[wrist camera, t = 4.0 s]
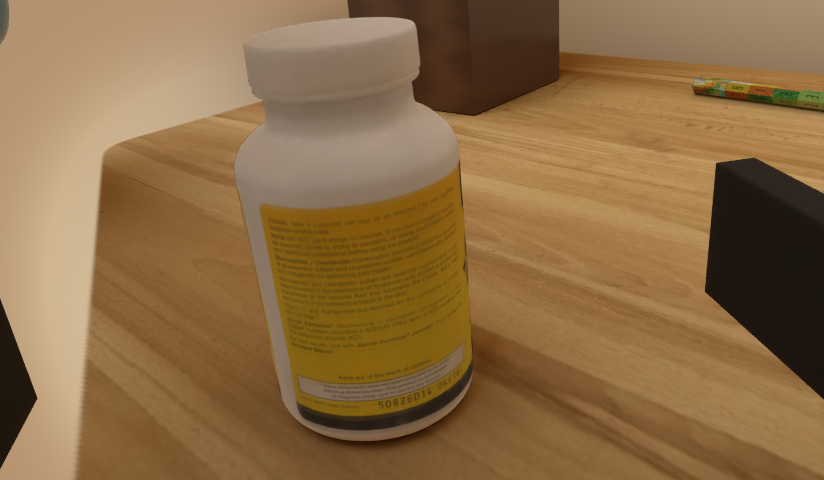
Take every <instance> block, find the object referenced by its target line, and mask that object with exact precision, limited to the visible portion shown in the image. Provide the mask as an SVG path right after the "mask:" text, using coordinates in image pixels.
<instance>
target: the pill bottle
mask: <svg viewBox="0 0 824 480" xmlns="http://www.w3.org/2000/svg"><path fill="white" fill-rule="evenodd" d="M243 47H244V54H245V59H246V67H247V75H248V82H249V85H250V86H251V87H252V93H253V94H254V95H255V96H256V97H258V98H260V99H263V102H264V108H265V115H266V118H265V122H263V123H262V124H261V125H259V126H258V127H257V128H256V129H255V130H254V131H253V132H252V133H251V134H250V135H249V136H248V137H247V138H246V140H245V141H244V142H243V144H242V145H241V147H240V149H239V151H238V153H237V156H236V160H235V171H234V172H235V180H236V186H237V191H238V196H239V201H240V206H241V211H242V215H243V220H244V224H245V229H246V233H247V238H248V243H249V247H250V252H251V256H252V261H253V265H254V270H255V275H256V279H257V284H258V288H259V293H260V298H261V303H262V307H263V312H264V317H265V322H266V326H267V331H268V336H269V342H270V347H271V352H272V357H273V362H274V366H275V371H276V376H277V382H278V386H279V390H280V395H281V397H282V400H283V402H284V404H285V406H286V407H287V409H288V411H289V412H290V413H291V415H292V416H293V417H294V418H295V419H296V420H298V421H299V422H300V423H301V424H303V425H304V426H306V427H307V428H309V429H311V430H313V431H315V432H318V433H320V434H323V435H325V436H329V437H333V438H337V439H342V440H351V441H377V440H385V439H391V438H396V437H401V436H404V435H408V434H411V433H413V432H416V431H419V430H421V429H423V428H426V427H428V426H430V425H432V424H433V423H435V422H437V421H438V420H440V419H441V418H443V417H444V416H445V415H447V414H448V413H449V412H450V411H452V410H453V409H454V408H455V407H456V406H457V404H458V403H459V402H460V401H461V400H462V398H463V397H464V395H465V394H466V392H467V390H468V388H469V385H470V383H471V380H472V374H473V343H472V329H471V315H470V299H469V285H468V268H467V254H466V241H465V225H464V211H463V199H462V187H461V173H460V156H459V149H458V143H457V139H456V136H455V134H454V132H453V130H452V128H451V127H450V125H449V124H448V123H447V122H446V121H445V120H444V119H443V118H442V117H441V116H440V115H439V114H437V113H436V112H435V111H433V110H432V109H430V108H429V107H427V106H425V105H423V104H421V103H418V102H416V101H415V100H414V96H413V88H412V82H411V81H413V80H414V79H415V78H416V77H417V76H418V75H419V69H418V68H419V67H420V55H419V47H418V38H417V29H416V25H415V23H414V22H413V21H411V20H408V19H403V18H393V17H362V18H347V19H334V20H325V21H316V22H309V23H303V24H297V25H291V26H286V27H280V28H276V29H273V30H269V31H264V32H261V33H258V34H255V35H253V36H251V37H249V38H247V39H246V40H245V41H244V44H243Z"/></svg>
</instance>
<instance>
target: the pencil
mask: <svg viewBox="0 0 824 480" xmlns="http://www.w3.org/2000/svg"><path fill="white" fill-rule="evenodd" d="M692 88H693V91H694V93H706V94H709V95H716V96H724V97H734V98H741V99H748V100H755V101H762V102H770V103H777V104H784V105H791V106H799V107H806V108H813V109H820V110H824V92H820V91H811V90H803V89H795V88H787V87H779V86H770V85H762V84H754V83H746V82H738V81H732V80H725V79H717V78H711V79H710V78H707V77H703V76H700V77H697V78H695V79H694V82H693V84H692Z"/></svg>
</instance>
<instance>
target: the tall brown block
mask: <svg viewBox="0 0 824 480" xmlns="http://www.w3.org/2000/svg"><path fill="white" fill-rule="evenodd" d="M348 8H349V17H350V18H362V17H393V18H403V19H408V20H411V21H413V22H414V23H415V25H416V29H417V38H418V47H419V55H420V67H419V68H418V69H419V75H418V76H417V77H416V78H415V79H414V80H413V81H411V82H412V88H413V96H414V100H415V101H416V102H418V103H421V104H423V105H425V106H427V107H429V108H430V109H432V110H438V111H445V112H453V113H460V114H467V115H476V114H478V113H481V112H483V111H485V110H488V109H490V108H492V107H495V106H497V105H499V104H502V103H504V102H506V101H509V100H511V99H513V98H516V97H518V96H520V95H523V94H525V93H527V92H530V91H532V90H534V89H537V88H539V87H541V86H544V85H546V84H549V83H551V82H553V81H556V80H558V79H559V0H348Z"/></svg>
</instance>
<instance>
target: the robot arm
mask: <svg viewBox="0 0 824 480" xmlns="http://www.w3.org/2000/svg"><path fill="white" fill-rule="evenodd" d="M8 25H9V5H8V0H0V44H1V42H2V41H3V40H4V38H5V36H6V33H7V30H8ZM705 292H706V293H707V294H708V295H709V296H710V297H711V298H713V299H714V300H715V301H716V302H717V303H718V304H719V305H720V306H721V307H722V308H724V309H725V310H726V311H727V312H728V313H729V314H730V315H731V316H732V317H734V318H735V319H736V320H737V321H738V322H739V323H740V324H741V325H742V326H743V327H745V328H746V329H747V330H748V331H749V332H750V333H751V334H752V335H753V336H754V337H756V338H757V339H758V340H759V341H760V342H761V343H762V344H763V345H764V346H766V347H767V348H768V349H769V350H770V351H771V352H772V353H773V354H774V355H775V356H777V357H778V358H779V359H780V360H781V361H782V362H783V363H784V364H785V365H786V366H788V367H789V368H790V369H791V370H792V371H793V372H794V373H795V374H796V375H798V376H799V377H800V378H801V379H802V380H803V381H804V382H805V383H806V384H807V385H809V386H810V387H811V388H812V389H813V390H814V391H815V392H816V393H817V394H818V395H820V396H821V397H822V398H823V399H824V194H823V193H821V192H819V191H818V190H816V189H814V188H812V187H810V186H808V185H806V184H804V183H802V182H800V181H798V180H796V179H794V178H793V177H791V176H789V175H787V174H785V173H783V172H781V171H779V170H777V169H775V168H773V167H771V166H769V165H767V164H766V163H764V162H762V161H760V160H758V159H756V158H749V159H742V160H735V161H728V162H721V163H716V171H715V182H714V194H713V205H712V217H711V228H710V239H709V251H708V262H707V273H706V285H705ZM36 400H37V396H36V393H35V390H34V388H33V385H32V383H31V380H30V377H29V374H28V372H27V369H26V367H25V364H24V361H23V358H22V356H21V353H20V351H19V348H18V345H17V342H16V340H15V337H14V334H13V332H12V329H11V326H10V324H9V321H8V318H7V316H6V313H5V310H4V308H3V305H2V302H1V300H0V468H1V466H2V464H3V463H4V461H5V459H6V457H7V455H8V453H9V451H10V449H11V447H12V445H13V444H14V442H15V440H16V438H17V436H18V434H19V432H20V430H21V429H22V427H23V425H24V423H25V421H26V419H27V417H28V415H29V413H30V412H31V410H32V408H33V406H34V404H35V402H36Z"/></svg>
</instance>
